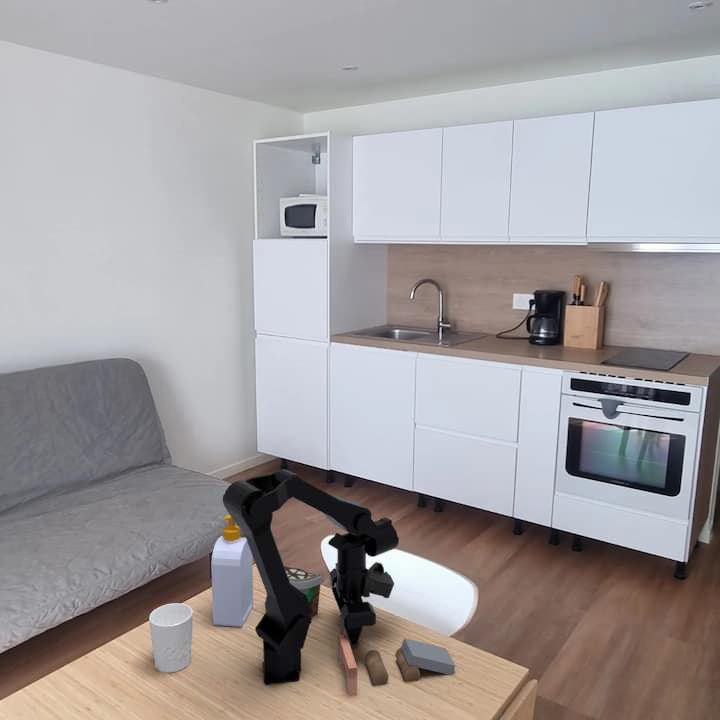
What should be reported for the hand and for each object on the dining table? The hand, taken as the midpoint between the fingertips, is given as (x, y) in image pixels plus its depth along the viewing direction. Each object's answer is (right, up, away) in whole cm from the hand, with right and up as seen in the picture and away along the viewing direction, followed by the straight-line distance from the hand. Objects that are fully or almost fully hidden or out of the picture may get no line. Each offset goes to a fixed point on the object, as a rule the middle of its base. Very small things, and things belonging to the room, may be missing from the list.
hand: (351, 634), depth 133 cm
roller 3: (+11, 0, -10) cm, 15 cm away
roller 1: (0, -1, 0) cm, 1 cm away
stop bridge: (0, -3, -12) cm, 12 cm away
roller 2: (+5, 0, -11) cm, 12 cm away
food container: (-13, 0, +9) cm, 16 cm away
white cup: (-34, -2, -8) cm, 35 cm away
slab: (+14, -1, -9) cm, 17 cm away
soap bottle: (-25, 0, +8) cm, 26 cm away
